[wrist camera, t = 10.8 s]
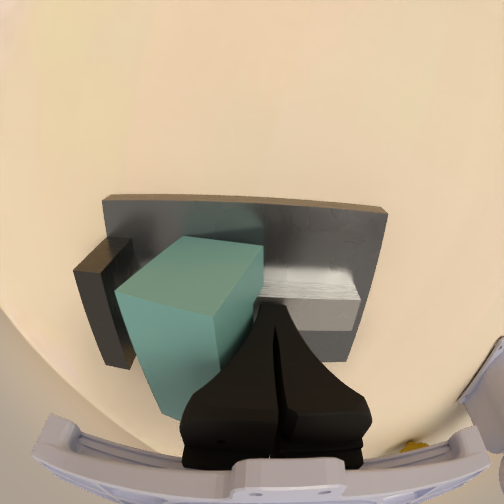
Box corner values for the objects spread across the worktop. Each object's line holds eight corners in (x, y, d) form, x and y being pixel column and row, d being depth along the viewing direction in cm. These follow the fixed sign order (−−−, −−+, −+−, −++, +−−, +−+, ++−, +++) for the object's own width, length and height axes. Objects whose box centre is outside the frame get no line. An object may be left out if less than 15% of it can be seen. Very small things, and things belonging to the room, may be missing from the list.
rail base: (381, 207, 14) (420, 245, 10) (343, 350, 18) (356, 404, 14) (110, 194, 14) (62, 227, 10) (138, 337, 19) (115, 386, 14)
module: (263, 245, 13) (213, 317, 8) (263, 369, 16) (232, 439, 12) (182, 235, 14) (114, 290, 10) (202, 353, 17) (162, 413, 13)
